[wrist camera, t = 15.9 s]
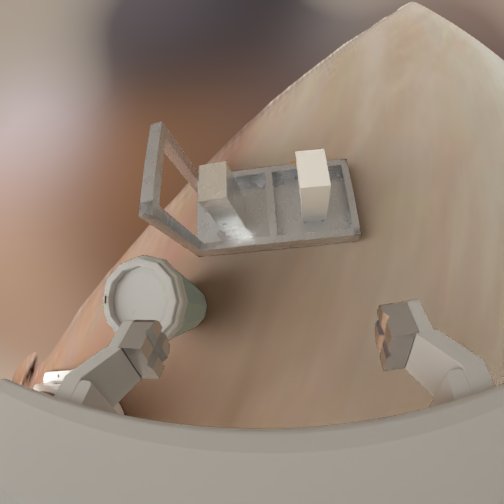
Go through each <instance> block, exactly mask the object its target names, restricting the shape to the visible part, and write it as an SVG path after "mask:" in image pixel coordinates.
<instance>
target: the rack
mask: <svg viewBox="0 0 504 504" xmlns="http://www.w3.org/2000/svg"><path fill="white" fill-rule="evenodd" d="M164 153H165V154H166V155H167V156H168V158H169V159H170V160H171V161H172V163H173V164H174V165H175V166H176V167H177V168H178V170H179V171H180V172H181V173H182V175H183V176H184V177H185V178H186V180H187V181H188V182H189V183H190V185H191V186H192V187H193V188H194V189H195V191H196V192H197V193H198V195H197V237H196V236H195V235H193V234H192V233H191V232H190V231H189V230H187V229H186V228H185V227H184V226H182V225H181V224H180V223H179V222H178V221H176V220H175V219H174V218H173V217H172V216H171V215H169V214H168V213H167V212H166V211H165V210H163V209H162V208H161V207H160V206H159V201H160V188H161V177H162V167H163V157H164ZM326 161H327V166H328V171H329V177H330V182H331V190H330V197H329V204H328V211H327V218H326V219H325V220H315V221H305V222H303V220H302V211H301V203H300V195H299V186H298V175H297V165H296V162H291V164H286V165H277V166H269V167H261V168H254V169H247V170H240V171H233V172H231V170H230V168H229V166H228V164H227V162H226V161H223V162H217V163H212V164H206V165H200V166H199V173H198V171H197V170H196V169H195V167H194V166H193V164H192V163H191V161H190V160H189V159H188V157H187V156H186V154H185V153H184V152H183V150H182V149H181V148H180V146H179V145H178V143H177V142H176V140H175V139H174V138H173V136H172V135H171V133H170V132H169V131H168V129H167V128H166V126H165V125H164V124H163V122H158V123H155V124H151V127H150V133H149V139H148V145H147V152H146V159H145V166H144V174H143V182H142V190H141V200H140V212H139V217H141V218H142V219H144V220H145V221H147V222H148V223H149V224H151V225H152V226H154V227H155V228H157V229H158V230H160V231H161V232H163V233H164V234H166V235H167V236H169V237H170V238H171V239H173V240H174V241H176V242H177V243H179V244H180V245H182V246H183V247H185V248H186V249H188V250H189V251H191V252H192V253H194V254H195V255H197V256H198V257H205V256H215V255H225V254H236V253H246V252H256V251H266V250H276V249H287V248H297V247H307V246H317V245H327V244H338V243H348V242H357V241H358V239H359V237H360V236H361V231H360V225H359V219H358V213H357V208H356V202H355V197H354V192H353V187H352V182H351V178H350V173H349V169H348V164H347V160H346V159H339V160H326Z"/></svg>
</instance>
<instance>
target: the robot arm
mask: <svg viewBox="0 0 504 504" xmlns="http://www.w3.org/2000/svg"><path fill="white" fill-rule="evenodd" d="M377 315H378V318H379V320H378V321H377V322H376V324H375V339H376V344H377V348H379V349H380V350H381V353H380V360H381V364H382V368H383V371H387V370H394V369H401V368H405V369H406V370H407V371H408V372H409V373H410V374H411V375H412V376H413V377H414V378H415V379H416V380H417V381H418V382H419V383H420V384H421V385H422V386H423V387H424V388H425V389H426V390H427V391H428V392H429V393H430V394H431V395H432V396H433V397H434V398H433V400H432V402H431V404H430V405H429V407H428V408H426V409H422V410H418V411H413V412H409V413H404V414H399V415H394V416H389V417H384V418H378V419H372V420H366V421H359V422H352V423H344V424H335V425H325V426H313V427H296V428H225V427H209V426H197V425H187V424H178V423H170V422H162V421H156V420H149V419H143V418H137V417H132V416H127V415H124V412H123V409H122V407H121V405H120V403H119V401H120V400H121V399H122V398H123V397H124V396H125V395H126V394H127V393H128V392H129V391H130V390H131V389H132V388H133V387H134V386H135V385H136V384H137V383H138V382H139V381H140V380H141V378H145V379H160V377H161V374H162V371H163V369H164V365H163V361H164V360H166V359H167V358H168V355H169V352H170V344H169V340H168V338H167V335H165V334H164V333H163V332H161V330H162V328H163V327H162V325H161V324H160V322H159V321H157V320H124V321H123V322H122V323H121V325H120V327H119V329H118V330H117V332H116V334H115V336H114V337H113V339H112V341H111V343H110V344H109V346H108V347H105V348H103V349H102V350H100V351H99V352H97V353H96V354H95V355H93V356H92V357H90V358H89V359H88V360H86V361H85V362H83V363H82V364H81V365H79V366H78V367H76V368H75V369H72V370H61V371H49V372H46V373H45V375H44V379H43V383H38V384H36V385H35V386H34V389H31V388H28V387H25V386H23V385H20V384H18V383H15V382H13V381H10V380H8V379H0V504H504V383H502V384H500V385H498V386H495V385H494V382H493V380H492V378H491V376H490V373H489V371H488V369H487V367H486V365H485V362H484V360H483V359H481V358H480V357H478V356H477V355H475V354H474V353H472V352H471V351H469V350H468V349H466V348H465V347H463V346H462V345H460V344H459V343H457V342H456V341H454V340H453V339H451V338H450V337H448V336H447V335H445V334H444V333H442V332H441V331H439V330H438V329H436V330H434V329H433V327H432V325H431V323H430V321H429V319H428V317H427V315H426V313H425V311H424V309H423V307H422V305H421V303H420V301H419V300H418V299H414V300H409V301H405V302H404V301H403V302H397V303H390V304H383V305H379V306H378V310H377Z"/></svg>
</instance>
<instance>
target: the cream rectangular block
mask: <svg viewBox="0 0 504 504" xmlns="http://www.w3.org/2000/svg"><path fill="white" fill-rule="evenodd" d="M295 155H296V165H297V175H298V186H299V195H300V203H301V211H302V220H303V222H305V221H315V220H325V219H326V218H327V211H328V204H329V197H330V190H331V182H330V177H329V171H328V166H327V161H326V156H325V151H324V149H317V150H306V151H296V152H295Z"/></svg>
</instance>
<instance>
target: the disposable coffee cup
mask: <svg viewBox="0 0 504 504" xmlns="http://www.w3.org/2000/svg"><path fill="white" fill-rule="evenodd" d="M103 307H104V313H105V318H106V321H107V322H108V324H109V325H110V326H111V328H112V329H113V330H114V331H115V333H116V332H117V330H118V329H119V327H120V325H121V323H122V322H123V321H124V320H157V321H159V322H160V324H161V325H162V327H163V328H162V330H161V332H163V333H164V334H165V335H167V338H168V340H170V339H172V338H174V337H176V336H178V335H180V334H182V333H184V332H186V331H188V330H191V329H193V328H195V327H197V326H198V325H199V323H200V322H201V321H202V320H203V319H204V318H205V314H206V310H207V304H206V300H205V296H204V294H203V293H202V292H201V291H200V290H199V289H198V288H197V287H196V286H195V285H194V284H192V283H191V282H190V281H189V280H187V279H186V278H185V277H184V276H182V275H181V274H180V273H179V272H178V271H176V270H175V269H174V268H173V267H172V266H171V264H170V263H169V262H168V261H167V260H164V259H160V258H156V257H152V256H148V255H146V256H145V255H141V256H139V257H136V258H133V259H131V260H128V261H126V262H124V263H121V264H120V265H119V266H118V267H117V268H116V269H115V271H114V272H113V273H112V274H111V275H110V276H109V277H108V279H107V281H106V285H105V290H104V294H103Z"/></svg>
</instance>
